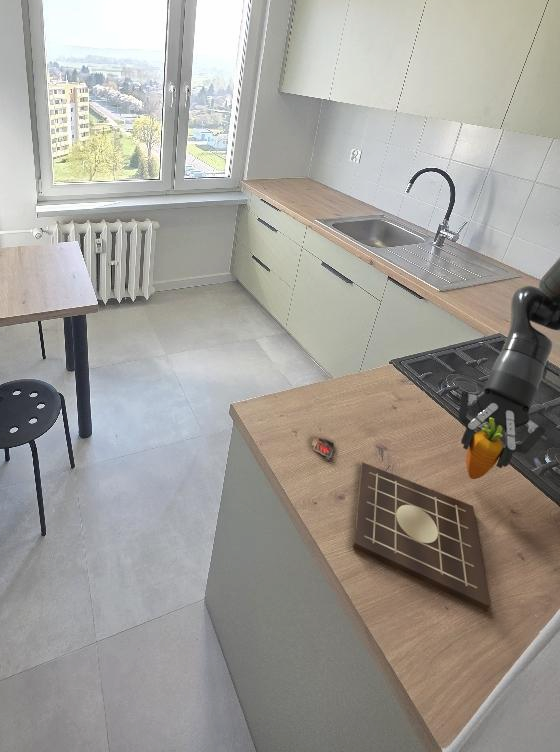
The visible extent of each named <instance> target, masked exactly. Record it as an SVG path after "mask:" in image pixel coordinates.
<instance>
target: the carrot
mask: <svg viewBox="0 0 560 752" xmlns="http://www.w3.org/2000/svg"><path fill="white" fill-rule="evenodd" d="M489 422H490V423H489ZM489 422H488V423H489V425H488V424H484V427H481V430H478V431H477V432H475V433H474V435H473V437H472V440H471V442H470V444H469V447H468V449H467V450H466V451H467V452H466V461H465V464H466V470H467V473H468V477H469V478H470V479H472V480H477V479H480V478H482V477H484V476H485V475H486V474H487V473H489V471H490V470H491V469H492V468H493V467H494V466H495V465H497V463H498V460H499V458H500V455H501V453H502V451H503V449H504V447H505V446H504V444H503V442H502V440H501V439H500V438H503V434H502V431H503V428H502V427H501V426H500V425H498V426H497V428H496V425H495V421H494V419H493V418H489ZM489 427H490V428H489Z"/></svg>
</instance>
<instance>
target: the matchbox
mask: <svg viewBox="0 0 560 752" xmlns="http://www.w3.org/2000/svg"><path fill="white" fill-rule="evenodd" d="M311 446H313V448H312V450H314V451H316V452H318V453H320V454H321V455H322V456H325V459H326V460H328V461H332V459H330V458H331V457H332V455H333V452H334V449H335V443H334V442H333V441H331V440H328V439H326V438H322V437H318V438H313V439H311Z"/></svg>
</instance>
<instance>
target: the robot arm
mask: <svg viewBox="0 0 560 752" xmlns="http://www.w3.org/2000/svg"><path fill="white" fill-rule="evenodd" d="M531 322H532V323H535V324H537V325H539V326H542V327H545V328H547V329H550V330H554V331H558V332H559V331H560V256H559V257H558V258H557V260H555V262H554V263H553V264H552V266H551V267H549V269H548V270H547V271H546V273H545V274H544V275H543V276H542V277H541V279H540V280H539V283H538V287H536V286H533V285H524V286H521V287H520V288H518V289H517V290H515V291H514V293H513V294H512V297H511V301H510V323H509V330H508V335H507V336H506V340H505V342H504V344H503V346H502V349H501V352H500V353H499V355H498V356H497V358H496V359H495V361H494V363H493V366H492V368H491V371H490V373H489V376H488V378H487V380H486V382H485V385H484V387H483V390H482V392H480V393H479V394H472V393H469V392H468V391H466V390H463V391H461V392H460V393H461V394H460V401H459V411H458V421H459V423H461V424H462V425H463V426H464V427H465V430H464V432H463V435H462V438H461V441H460V443H461V445H463V449H464V450H466V451H468V447H469V444H470V442H471V440H472V437H473V435H474V434H475V433H476V431H475V430H476V429H477V428H478V427H479V426H480V425H482V424H483V423H484V422H486V423H489V424H490V422H489V418H493V419H494V421H495V426H497V427H498V425H500V426H501V427H502V428H503V429H502V431H504V437H505V439H504V440H505V446H504V449H503V451H502V453H501V455H500V457H499V459H498V460H497V462H496V464H495V465H496V467H498V468H499V469H502V468H503V467H504V468H506V467H507V466H509V464H510V462H511V459H512V456H513V454H514V453H519V454H522V455H523V454H527V453H529V451H531V449H532V448H533V447H534V446H535V444H537V443H538V441H539V440H540V439H541V438H542V436H543V435H544V434H545V433H546V429H545V427H544V426H539V425H538V424H537V423H535V422H534V421H532V420H530V410H531V407H532V404H533V402H534V400H535V397H536V395H537V392H538V389H539V387H540V384H541V382H542V380H543V375H544V371H545V367H546V365H547V362H548V360H549V357H550V354H551V352H552V349H553V345H554V344H553V341H552V340H551V339H550V338H549V337H548V336H547V335H546V334H544V333H542V332H540V331H539V330H537V329H536V328H535V327H534V326H533V325H532V323H531ZM473 402H476V403H477V407H478V409H479V412H480V413H478V415H477V416H475V417H474V418H473V419H472V420H469V419H468V417H467V416H468V406H470V405H473ZM525 425H526V426H527V430H526V431H527V433H528V434H529V435H528V437H527V438H526V439H525V440H524V441H523V443H521V444H517V443H516V429H517V428H519V427H522V426H525Z"/></svg>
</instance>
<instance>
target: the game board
mask: <svg viewBox="0 0 560 752" xmlns="http://www.w3.org/2000/svg"><path fill="white" fill-rule="evenodd" d="M358 479H359V480H358V489H357V499H356V500H357V501H356V513H355V520H354V532H353V540H352V542H353V543H352V548H353V549H354V550H356V551H358V552H361V553H363V554H365V555H366V556H369V557H371V558H373V559H375V560H378V561H380V562H381V563H384V564H386V565H388V566H390V567H392V568H394V569H397V570H398V571H401V572H403V573H405V574H406V575H409V576H411V577H413V578H414V579H418V580H419V581H422V582H424V583H426V584H428V585H430V586H432V587H434V588H436V589H439V590H440V591H442V592H444V593H447V594H449V595H452V596H454V597H456V598H457V599H460V600H462V601H464V602H466V603H468V604H470V605H472V606H474V607H477V608H478V609H480V610H483V611H485V612H488V610H489V609H490V607H491V604H490V599H489V592H488V585H487V580H486V575H485V567H484V563H483V562H484V561H483V556H482V551H481V545H480V538H479V532H478V526H477V521H476V514H475V507H474V505H472V504H469V503H466V502H464V501H462V500H459V499H457V498H454V497H452V496H449V495H447V494H444V493H441V492H439V491H437V490H434V489H432V488H429V487H427V486H423V485H421V484H418V483H416V482H414V481H411V480H408V479H406V478H404V477H401V476H398V475H397V474H394V473H392V472H388V471H386V470H383V469H380V468H379V467H376V466H373V465H371V464H368V463H365V462H363V461H361V464H360V468H359V478H358Z"/></svg>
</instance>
